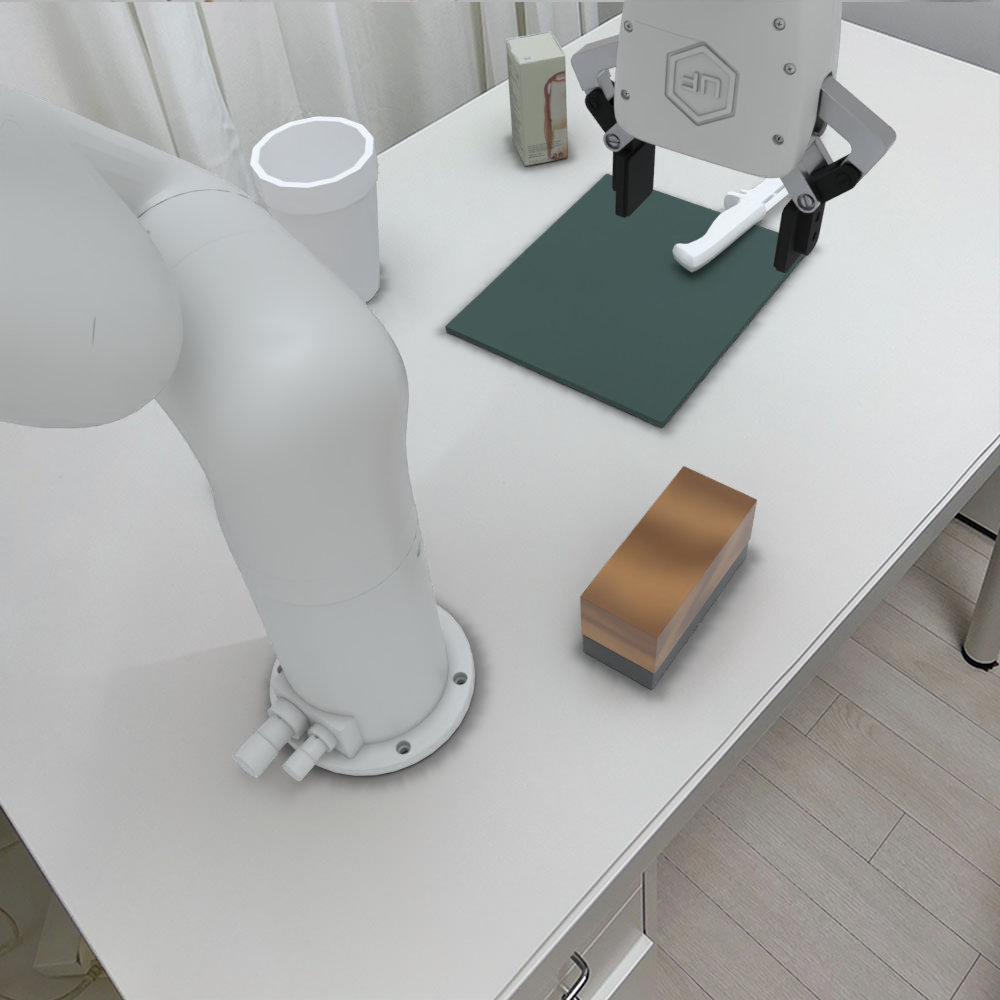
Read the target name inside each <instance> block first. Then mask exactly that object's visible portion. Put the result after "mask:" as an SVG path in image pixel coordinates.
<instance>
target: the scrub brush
mask: <svg viewBox="0 0 1000 1000" xmlns="http://www.w3.org/2000/svg"><path fill="white" fill-rule="evenodd" d="M757 504H758V499H757V498H755V497H753V496H751V495H748V494H746V493H744V492H741V490H738V489H735V488H733V487H731V486H729V485H727V484H724V483H722V482H720V481H718V480H716V479H713V478H711V477H709V476H707V475H705V474H703V473H701V472H698V471H696V470H693V469H691V468H689V467H687V466H685V465H683V466H682V467H681V468H680V469H679V471H678V472H677V473H676V475H675V476H674V477H673V478H672V479H671V481H670V482H669V483H668V485H667V486H666V487H665V489H664V490H663V491H662V492H661V494H660V495H659V496H658V497H657V499H656V500H655V501H654V503H653V504H652V505H651V506H650V507H649V509H648V510H647V511H646V512H645V514H644V515H643V516H642V518H641V519H640V520H639V521H638V523H637V524H636V525H635V526H634V528H633V529H632V530H631V532H630V533H629V534H628V535H627V537H626V538H625V539H624V540H623V542H621V544H620V546H619V547H618V548H617V549H616V551H615V552H614V553H613V554H612V556H611V557H610V558H609V560H608V561H607V562H606V563H605V564H604V566H603V567H602V568H601V570H599V572H598V573H597V575H596V576H595V577H594V578H593V580H592V581H591V582H590V584H588V586H587V587H586V589H584V591H583V592H582V594H581V595H580V596H579V605H580V634H581V635H582V651H583V653H585V654H587V655H588V656H591V657H592V658H593V659H596V660H598V661H599V662H601V663H603V664H604V665H607V666H608V667H610V668H612V669H613V670H615V671H617V672H619V673H620V674H622V675H624V676H626V677H627V678H629V679H631V680H633V681H635V682H637V683H639V684H641V685H642V686H644V687H645V688H647V689H649V690H653V689H654V688H655V687H656V685H657V684H658V682H659V681H660V679H661V678H662V677H663V675H664V674H665V673H666V671H667V669H668V668H669V667H670V665H671V664H672V663H673V661H674V659H675V658H676V657H677V655H678V654H679V653H680V651H681V650H682V648H683V647H684V645H685V644H686V643H687V641H688V640H689V638H690V637H691V635H692V634H693V633H694V631H695V630H696V628H698V626H699V624H700V623H701V621H702V620H703V619H704V617H705V616H706V614H707V613H708V612H709V610H710V609H711V607H712V606H713V604H714V603H715V601H716V600H717V599H718V597H719V596H720V594H721V593H722V591H723V590H724V589H725V587H726V586H727V584H728V583H729V582H730V580H731V578H733V576H734V574H735V573H736V572H737V570H738V569H739V567H740V566H741V564H742V563H743V561H744V560H745V559H746V557H747V552H748V547H749V542H750V540H752V539H751V538H752V532H753V526H754V521H755V516H756V515H755V514H756V509H757Z"/></svg>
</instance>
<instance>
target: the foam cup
mask: <svg viewBox="0 0 1000 1000" xmlns="http://www.w3.org/2000/svg"><path fill="white" fill-rule="evenodd" d="M375 143H376V142H375V138H374V136H373V135H372V133H370V132H369V130H368V129H367V128H366V127H365V126H364V125H363V124H361V123H358V122H356V121H353V120H350V119H348V118H345V117H342V116H341V117H340V116H338V117H337V116H317V115H316V116H312V117H307V118H302V119H298V120H293V121H288V122H287V123H284V124H282V125H281V126H279V127H277V128H275V129H272V130H271V131H269V132H267V133H266V134H265V135H264V136H263V137H262V138H261V139H260V140H259V141H258V142H257V143H256V144H255V145H254V146H253V147H252V150H251V152H252V153H251V156H250V162H249V165H250V169H251V172H252V173H251V174H252V176H253V180H254V183H255V187H256V190H257V192H258V193H259V195H260V196H261V198H262V199H263V201H264V203H265V204H266V206H267V209H268V211H269V214H270V215H271V216H272V217H273V218H275V219H276V220H277V221H278V222H279V223H280V224H281V225H282V226H283V227H284V228H285V229H286V230H287V231H288V232H290V233H291V234H292V235H293V236H294V237H295V238H296V239H297V240H298V241H299V242H300V243H301V244H303V245H304V246H306V247H307V248H308V249H309V250H311V251H312V252H313V253H314V254H315V255H316V256H317V257H318V258H319V259H320V260H321V261H322V262H323V263H324V264H325V265H327V266H328V267H329V268H330V269H331V270H332V271H333V272H334V273H335V274H336V275H337V276H338V277H339V278H340V279H342V280H343V281H344V282H345V283H346V284H347V285H348V286H349V287H350V288H351V289H352V290H353V291H354V292H355V293H356V294H357V295H358V296H359V297H360V298H361V299H362V300H363V301H364V302H365V303H367V302H369V301H370V300H372V299H373V298H374V296H375V295H377V292H378V291H379V290H380V287H381V286H380V284H381V264H380V262H381V261H380V238H379V235H380V234H379V213H378V209H379V208H378V189H377V188H378V186H377V185H378V184H377V182H378V181H379V159H378V155H377V154H378V153H377V149H376V144H375Z"/></svg>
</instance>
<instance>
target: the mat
mask: <svg viewBox="0 0 1000 1000" xmlns="http://www.w3.org/2000/svg"><path fill="white" fill-rule="evenodd" d="M615 203H616V192H615V191H613V189H612V174H609V173H605V174H604V175H603V176H602V177H601V178H599V180H598V181H597V182H596V183H594V185H592V187H590V188H589V190H588V191H586V192H585V193H583V195H582V196H581V197H580V198H579V199H578V200H577V201H575V203H573V205H571V206H570V207H569V208H568V209H567V210H566V211H565V212H564V213H563V214H562V215H561V216H560V217H559V218H558V219H557V220H556V221H555V222H553V224H551V225H550V226H549V227H548V228H547V229H546V230H545V231H544V232H543V233H542V234H541V235H540V236H538V238H537V239H536V240H534V242H532V243H531V244H530V245H529V246H528V247H527V248H526V249H525V250H524V251H523V252H522V253H520V255H519V256H517V258H516V259H515V260H513V261H512V263H510V265H508V266H507V267H506V268H505V269H504V270H503V271H502V272H501V273H500V274H499V275H497V276H496V277H495V278H494V279H493V280H492V281H491V282H490V283H489V284H488V285H487V286H486V287H485V288H484V289H482V290H481V292H480V293H479V294H478V295H477V296H475V298H473V299H472V300H471V301H470V302H469V303H468V304H467V305H466V306H465V307H464V308H463V309H462V310H460V311H459V312H458V313H457V314H456V315H455V316H454V317H453V318H452V319H451V320H450V321H448V323H447V324H446V325H445V332H446V333H448V334H451V335H453V336H455V337H457V338H459V339H462V340H463V341H466V342H469V343H470V344H473V345H475V346H478V347H479V348H482V349H484V350H487V351H488V352H490V353H493V354H496V355H497V356H499V357H502V358H504V359H507V360H509V361H511V362H514V363H516V364H517V365H519V366H522V367H524V368H526V369H529V370H531V371H533V372H536V373H538V374H540V375H542V376H545V377H548V378H549V379H551V380H553V381H556V382H558V383H561V384H562V385H565V386H567V387H569V388H571V389H574V390H576V391H579V392H581V393H583V394H584V395H587V396H590V397H592V398H594V399H596V400H598V401H600V402H603V403H605V404H606V405H609V406H612V407H613V408H617V409H619V410H621V411H624V413H625V412H626V413H627V414H630V415H632V416H634V417H637V418H639V419H640V420H643V421H646V422H648V423H649V424H652V425H655V426H657V427H659V428H661V429H662V428H664V427H665V425H666V424H667V423H668V422H669V421H670V419H671V418H672V417H673V415H674V414H675V413H677V411H678V410H679V409H680V407H681V406H682V404H684V402H685V401H686V400H687V399H688V398H689V396H691V394H692V393H693V392H694V390H695V389H696V388H697V387H698V385H700V383H701V382H702V380H703V379H704V378H705V377H706V376H707V375H708V374H709V372H710V371H711V370H712V368H713V367H714V366H715V365H716V364H717V363H718V362H719V360H720V359H721V358H722V356H723V355H724V354H725V353H726V352H727V351H728V349H729V348H730V347H731V345H733V343H734V342H735V341H736V340H737V338H738V337H739V336H740V335H741V334H742V332H743V331H744V330H745V329H746V327H747V326H748V325H749V324H750V323H751V322H752V320H753V319H754V318H755V317H756V315H757V314H758V313H759V311H761V309H762V308H763V307H764V305H765V304H767V302H768V301H769V299H770V298H771V297H772V296H773V295H774V293H775V292H777V290H778V289H779V288H780V286H781V285H782V284H783V283H784V282H785V280H786V279H787V278H788V277H789V275H791V273H792V272H793V271H794V269H796V268H797V266H798V264H800V263H801V261H802V260H803V258H804V257H805V256H806V255H803V254H801V255H800V256H799V258H798V259H797V260H796V261H795V263H794V264H793V265H792V266H791V268H790V269H789V270H788V272H787V273H782V272H779V271H776V267H774V266H773V264H774V258H775V252H776V246H777V240H778V233H779V231H775V230H773V229H770V228H766V227H763V226H761V225H758V224H755V225H754V226H752V227H751V228H750V229H749V230H748V231H746V232H745V233H744V234H743V235H742V236H740V237H739V238H738V239H737V240H736V241H734V242H733V243H732V244H731V245H730V246H728V247H727V248H726V249H725V250H724V251H722V252H721V253H720V254H719V255H718V256H716V257H715V258H714V259H713V260H711V261H710V262H709V263H707V264H706V265H704V266H703V267H702V268H700V269H698V270H697V271H694V272H690V271H689V270H687V269H686V268H684V267H683V266H682V265H680V264H679V263H678V262H677V261H676V259H675V258H674V256H673V252H672V251H673V248H674V246H675V245H676V244H679V243H680V244H689V243H691V242H693V241H696V240H698V239H700V238H702V237H703V236H704V235H705V234H706V233H707V231H708V229H709V228H710V226H711V225H712V223H713V222H714V221H715V219H716V218H717V217H718V216H719V215H720V214H721V213H722V212H720V211H717V210H714V209H712V208H708V207H706V206H703V205H699V204H697V203H694V202H692V201H688V200H686V199H683V198H679V197H676V196H673V195H670V194H668V193H666V192H665V193H664V192H662V191H659V190H656V189H653V191H652V193H651V195H650V196H649V197H648V198H647V199H646V200H645V201H644V202H643V203H642V204H641V205H640V206H639V207H638V208H637V209H636V210H635V211H634V212H633V213H632V214H631V215H630V216H629V217H628V216H627V217H626V218H623V217H620V216H617V215H616V214H615Z"/></svg>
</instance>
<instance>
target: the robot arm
mask: <svg viewBox="0 0 1000 1000" xmlns="http://www.w3.org/2000/svg"><path fill="white" fill-rule="evenodd" d="M842 14H843V0H623V5H622V12H621V18H620V26H619V34H615V35H612V36H609V37H605V38H602V39H599V40H596V41H595V40H594V41H592V42H589V43H586V44H584V45H583V46H582V47H581V48H580V49H579V50H577V51H576V52H574V54H572V56H571V57H570V64H571V68H572V70H573V72H574V75H575V76H576V79H577V82H578V84H579V86H580V88H581V91H582V92H584V94H585V98H584V104H585V107H586V109H587V110H588V112H589V113H590V115H591V116H592V117H593V119H594V120H595V121H596V123H597V124H598V125H599V127H600V128H601V129H602V131H603V132H604V134H603V137H602V140H603V144H604V145H605V147H606V148H607V149H608V150H609V151H611V152H612V171H611V172H612V174H611V175H612V189H613V191H615V192H616V203H615V214H616V215H617V216H620V217H623V218H626V217H627V216H628V217H629V216H630V215H631V214H632V213H633V212H634V211H635V210H636V209H637V208H638V207H639V206H640V205H641V204H642V203H643V202H644V201H645V200H646V199H647V198H648V197H649V196H650V195H651V193H652V191H653V190H654V181H655V166H656V165H655V163H656V147H658V148H662V149H665V150H667V151H671V152H674V153H677V154H681V155H684V156H687V157H690V158H692V159H693V158H694V159H697V160H700V161H703V162H706V163H710V164H713V165H716V166H719V167H723V168H726V169H729V170H732V171H736V172H738V173H739V172H740V173H743V174H746V175H750V176H754V177H758V178H763V179H765V178H780V179H781V181H782V183H783V184H784V186H785V187H784V188H786V189H787V191H788V195H789V196H790V198H791V199H790V200H789V201H788V202H787V203H786V205H785V206H784V207H783V209H782V211H781V216H780V222H779V226H778V227H779V228H778V240H777V246H776V252H775V258H774V264H773V266H774V267H776V271H779V272H782V273H787V272H788V270H789V269H790V268H791V266H792V265H793V264H794V263H795V261H796V260H797V259H798V258H799V256H800V255H801V254H803V255H805V256H806V257H808V256H809V255H810V254H811V253H812V252H813V251H814V249H815V247H816V245H817V243H818V240H819V238H820V234H821V228H822V223H823V217H824V213H825V208H826V203H827V202H829V201H831V200H834V199H835V198H837V197H840V196H841V195H843V194H845V193H847V192H849V191H851V190H852V189H854V188H855V187H856V186H857V184H859V182H860V181H862V179H863V178H864V177H865V176H866V175H867V174H868V173H869V172H870V171H871V170H872V169H873V168H874V167H875V166H876V165H877V164H878V163H879V162H880V160H882V158H884V157H885V155H886V154H887V153H888V151H889V150H890V149H891V148H892V146H893V145H894V144H895V142H896V141H897V132H896V131H895V129H894V128H893V127H891V126H890V125H889V124H888V123H887V122H885V120H884V119H882V118H881V117H880V116H878V114H876V113H875V112H874V111H873V110H871V108H870V107H868V105H866V104H864V103H863V102H862V101H861V100H860V99H859V98H858V97H857V96H856V95H854V94H853V93H852V92H851V91H849V90H848V89H847V88H846V87H845V86H843V85H842V84H841V83H840V81H838V80H837V75H838V74H837V73H838V66H839V56H840V46H841V36H842V35H841V34H842V18H843V17H842ZM613 68H615V73H614V80H612V79H611V77H612V75H611V72H610V69H613ZM828 126H829V127H830V128H831V129H832V130H834V131H835V132H836V133H837V134H838V135H840V136H841V137H842V138H843V139H844V140H845V141H846V142H847V143H848V144H849V145H850V149H851V151H850V153H848V154H846V155H844V156H842V157H840V158H839V159H836V160H835V161H834V160H833V157H832V156H831V155H830V153H829V152H828V150H827V148H826V146H825V144H824V142H823V140H822V139H821V137H822V136H823V135H824V133H825V132H826V129H827V127H828ZM409 390H410V389H409V380H408V374H407V369H406V365H405V363H404V360H403V358H402V355H401V353H400V350H399V347H397V345H396V342H395V341H394V339H393V338H392V335H391V334H390V332H389V331H388V329H387V328H386V327H385V325H384V323H382V322H381V320H380V319H379V318H378V317H377V315H376V313H374V311H373V310H372V309H371V308H370V307H369V305H367V303H366V302H364V301H363V300H362V299H361V298H360V297H359V296H358V295H357V294H356V293H355V292H354V291H353V290H352V289H351V288H350V287H349V286H348V285H347V284H346V283H345V282H344V281H343V280H342V279H340V278H339V277H338V276H337V275H336V274H335V273H334V272H333V271H332V270H331V269H330V268H329V267H328V266H327V265H325V264H324V263H323V262H322V261H321V260H320V259H319V258H318V257H317V256H316V255H315V254H314V253H313V252H312V251H311V250H309V249H308V248H307V247H306V246H304V245H303V244H301V243H300V242H299V241H298V240H297V239H296V238H295V237H294V236H293V235H292V234H291V233H290V232H288V231H287V230H286V229H285V228H284V227H283V226H282V225H281V224H280V223H279V222H278V221H277V220H276V219H275V218H273V217H272V216H271V214H270V212H268V211H267V210H266V209H265V208H263V207H262V206H261V205H260V204H259V203H258V202H257V201H255V199H253V198H252V197H251V196H250V195H248V194H247V193H246V192H245V191H244V190H242V189H241V188H239V187H237V186H236V185H234V184H233V183H232V182H230V181H228V180H227V179H225V178H223V177H221V176H219V175H218V174H216V173H213V172H211V171H209V170H207V169H205V168H202V167H201V166H199V165H197V164H194V163H192V162H190V161H188V160H185V159H182V158H180V157H178V156H175V155H173V154H171V153H169V152H166V151H164V150H162V149H160V148H157V147H155V146H153V145H150V144H148V143H145V142H143V141H142V140H138V139H136V138H134V137H131V136H130V135H126V134H125V133H122V132H120V131H118V130H115V129H113V128H110V127H108V126H107V125H103V124H101V123H98V122H96V121H94V120H92V119H89V118H87V117H85V116H83V115H80V114H78V113H75V112H73V111H71V110H69V109H66V108H64V107H62V106H59V105H57V104H55V103H52V102H50V101H47V100H45V99H42V98H41V97H39V96H36V95H34V94H31V93H28V92H25V91H23V90H20V89H17V88H15V87H11V86H8V85H5V84H1V83H0V422H1V423H6V424H7V423H8V424H12V425H20V426H23V427H30V428H41V429H71V430H72V429H86V428H87V429H88V428H93V427H99V426H103V425H108V424H111V423H115V422H118V421H120V420H122V419H125V418H128V417H129V416H132V415H133V414H135V413H137V412H138V411H140V410H141V409H143V408H144V407H145V406H147V405H149V403H151V402H152V401H153V400H154V401H155V402H156V403H157V404H158V405H159V406H160V408H161V409H162V410H163V412H164V413H165V414H166V416H167V417H168V418H169V420H170V421H171V422H172V424H173V425H174V426H175V427H176V429H177V431H178V432H179V434H180V435H181V436H182V438H183V440H184V441H185V443H186V444H187V445H188V447H189V449H190V451H191V452H192V454H193V455H194V457H195V459H196V460H197V462H198V464H199V466H200V467H201V469H202V471H203V473H204V475H205V477H206V480H207V482H208V484H209V486H210V489H211V492H212V495H213V504H214V509H215V510H214V511H215V515H216V518H217V521H218V524H219V526H220V529H221V532H222V534H223V537H224V540H225V542H226V545H227V547H228V549H229V552H230V554H231V556H232V558H233V561H234V564H235V565H236V568H237V570H238V572H239V574H240V575H241V577H242V579H243V582H244V585H245V586H246V589H247V591H248V594H249V596H250V598H251V600H252V603H253V605H254V607H255V609H256V612H257V614H258V616H259V619H260V621H261V623H262V625H263V628H264V630H265V633H266V635H267V638H268V639H269V642H270V644H271V646H272V649H273V651H274V653H275V656H276V658H275V661H274V663H273V665H272V670H271V675H270V679H269V701H270V705H271V706H270V707H269V708H267V710H266V713H267V715H268V718H267V719H266V720H265V721H264V722H263V724H261V726H260V727H259V728H258V729H257V730H256V731H253V733H251V735H249V737H248V738H247V739H246V740H245V741H244V742H243V743H242V744H241V745H240V747H238V748H237V750H236V751H235V752H234V753H233V754H232V756H231V757H232V759H233V760H234V762H235V763H236V764H237V765H238V766H239V767H240V768H241V769H242V770H243V771H244V772H245V773H247V774H248V775H249V776H251V777H253V778H256V779H258V778H259V777H260V776H261V775H262V773H264V772H265V770H266V769H267V768H268V767H269V766H270V765H271V764H272V762H273V761H274V760H275V759H276V758H277V757H278V756H279V752H280V751H281V750H282V749H283V748H284V747H285V746H286V745H287V743H288V745H289V746H290V747H292V749H293V750H294V752H292V754H291V755H290V756H289V757H288V758H287V759H286V760H285V761H284V762H283V764H282V765H281V766H282V769H283V770H284V771H285V772H286V773H287V775H289V776H290V777H291V778H292V779H293V780H295V781H297V782H302V780H304V778H305V777H306V776H307V775H308V774H309V772H310V771H311V770H312V769H313V768H314V767H315V766H316V767H319V768H321V769H324V770H327V771H329V772H332V773H335V774H342V775H347V776H355V777H359V776H360V777H361V776H362V777H365V776H367V777H368V776H380V775H383V774H387V773H393V772H397V771H400V770H402V769H406V768H407V767H410V766H412V765H415V764H417V763H419V762H420V761H421V760H423V759H425V758H427V757H428V756H430V755H432V754H433V753H434V752H436V751H437V750H438V749H439V748H440V747H441V746H443V745H444V744H445V743H446V742H447V741H448V740H450V738H451V737H452V735H453V734H454V733H455V731H457V729H458V728H459V727H460V725H461V724H462V722H463V720H464V718H465V716H466V714H467V712H468V711H469V708H470V706H471V702H472V699H473V695H474V693H475V682H476V670H475V661H474V656H473V652H472V647H471V643H470V641H469V639H468V637H467V635H466V633H465V632H464V629H463V628H462V626H461V625H460V624H459V623H458V622H457V621H456V619H455V617H453V616H452V615H451V614H450V613H449V612H448V611H447V610H445V609H444V608H443V607H442V606H441V605H439V604H437V601H436V597H435V592H434V588H433V587H434V586H433V582H432V576H431V572H430V568H429V563H428V558H427V553H426V548H425V543H424V538H423V534H422V529H421V524H420V519H419V516H418V515H419V514H418V509H417V504H416V502H415V498H414V497H415V496H414V492H413V487H412V482H411V477H410V471H409V463H408V455H407V454H408V453H407V430H408V429H407V428H408V417H409V416H408V415H409V402H410V393H409ZM404 752H406V753H404Z"/></svg>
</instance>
